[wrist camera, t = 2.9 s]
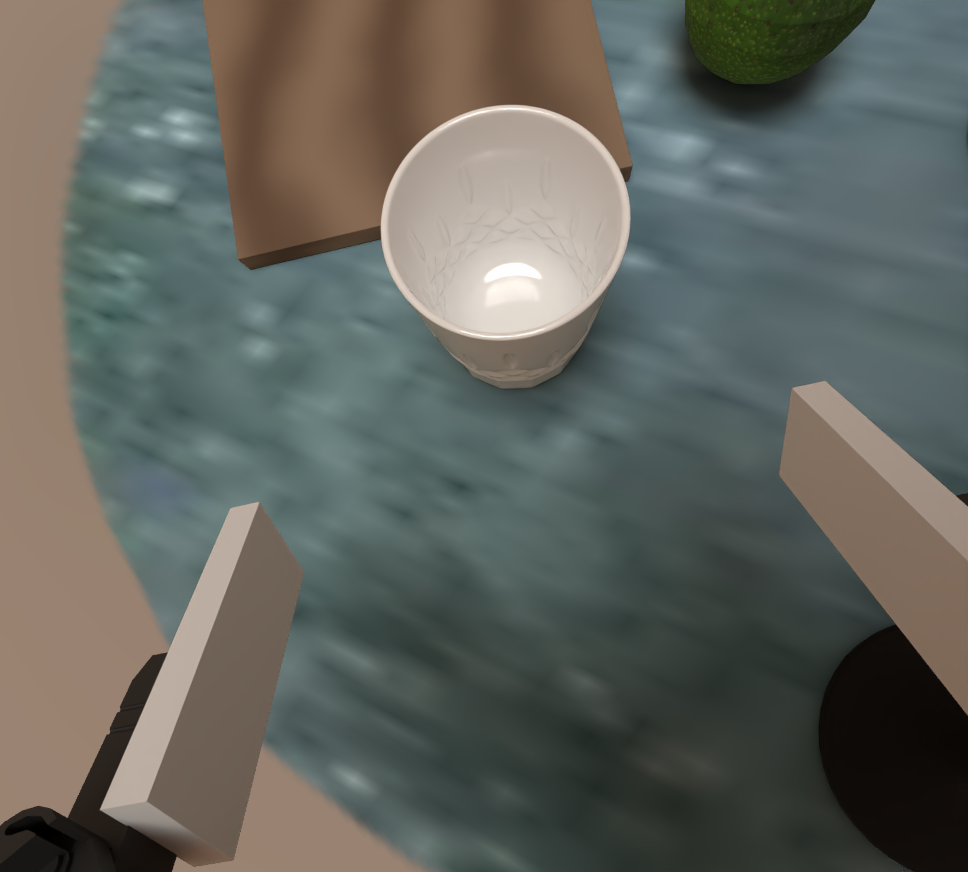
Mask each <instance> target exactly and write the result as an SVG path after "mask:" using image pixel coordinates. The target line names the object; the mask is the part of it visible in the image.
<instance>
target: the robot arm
mask: <svg viewBox="0 0 968 872" xmlns="http://www.w3.org/2000/svg"><path fill="white" fill-rule="evenodd" d="M779 476H780V477H781V478H782V480H783V481H784V482H785V483H786V485H787V486H788V487H789V489H790V490H791V491H792V492H793V494H794V495H795V496H796V497H797V499H798V500H799V501H800V503H801V504H802V505H803V506H804V508H805V509H806V510H807V511H808V513H809V514H810V515H811V517H812V518H813V519H814V520H815V522H816V523H817V524H818V525H819V527H820V528H821V529H822V531H823V532H824V533H825V534H826V536H827V537H828V538H829V539H830V541H831V542H832V543H833V545H834V546H835V547H836V548H837V550H838V551H839V552H840V553H841V555H842V556H843V557H844V559H845V560H846V561H847V562H848V564H849V565H850V566H851V567H852V569H853V570H854V571H855V573H856V574H857V575H858V576H859V578H860V579H861V580H862V581H863V583H864V584H865V585H866V587H867V588H868V589H869V590H870V592H871V593H872V594H873V595H874V597H875V598H876V599H877V601H878V602H879V603H880V604H881V606H882V607H883V608H884V609H885V611H886V612H887V613H888V615H889V616H890V617H891V618H892V620H893V621H894V622H895V623H896V625H897V626H898V627H899V629H900V630H901V631H902V632H903V634H904V635H905V636H906V637H907V639H908V640H909V641H910V643H911V644H912V645H913V646H914V648H915V649H916V650H917V651H918V653H919V654H920V655H921V657H922V658H923V659H924V660H925V662H926V663H927V664H928V665H929V667H930V668H931V669H932V671H933V672H934V673H935V674H936V676H937V677H938V678H939V679H940V681H941V682H942V683H943V685H944V686H945V687H946V688H947V690H948V691H949V692H950V693H951V695H952V696H953V697H954V699H955V700H956V701H957V702H958V704H959V705H960V706H961V707H962V709H963V710H964V711H965V713H966V714H967V715H968V493H967V494H962V495H957V496H955V495H954V494H953V493H952V492H951V491H950V490H948V489H947V488H946V487H945V486H944V485H943V484H942V483H940V482H939V481H938V480H937V479H936V478H935V477H934V476H933V475H931V474H930V473H929V472H928V471H927V470H926V469H925V468H923V467H922V466H921V465H920V464H919V463H918V462H917V461H915V460H914V459H913V458H912V457H911V456H910V455H909V454H908V453H906V452H905V451H904V450H903V449H902V448H901V447H900V446H898V445H897V444H896V443H895V442H894V441H893V440H892V439H891V438H889V437H888V436H887V435H886V434H885V433H884V432H883V431H881V430H880V429H879V428H878V427H877V426H876V425H875V424H873V423H872V422H871V421H870V420H869V419H868V418H867V417H866V416H864V415H863V414H862V413H861V412H860V411H859V410H858V409H856V408H855V407H854V406H853V405H852V404H851V403H850V402H848V401H847V400H846V399H845V398H844V397H843V396H842V395H841V394H839V393H838V392H837V391H836V390H835V389H834V388H833V387H831V386H830V385H829V384H828V383H827V382H826V381H822V382H818V383H813V384H808V385H804V386H799V387H794V388H792V390H791V397H790V404H789V411H788V417H787V424H786V431H785V438H784V445H783V451H782V458H781V465H780V472H779ZM303 574H304V571H303V570H302V568H301V566H300V565H299V563H298V562H297V560H296V558H295V557H294V555H293V554H292V552H291V551H290V549H289V547H288V546H287V544H286V543H285V541H284V540H283V538H282V536H281V535H280V533H279V532H278V530H277V529H276V527H275V525H274V524H273V522H272V521H271V519H270V518H269V516H268V514H267V513H266V511H265V510H264V508H263V506H262V505H261V503H260V502H257V503H252V504H248V505H243V506H238V507H234V508H230V511H229V513H228V515H227V518H226V520H225V522H224V525H223V527H222V529H221V532H220V534H219V536H218V538H217V541H216V543H215V545H214V548H213V550H212V552H211V555H210V557H209V559H208V562H207V564H206V566H205V568H204V571H203V573H202V575H201V578H200V580H199V582H198V585H197V587H196V589H195V591H194V594H193V596H192V598H191V601H190V603H189V605H188V608H187V610H186V612H185V615H184V617H183V619H182V621H181V624H180V626H179V628H178V631H177V633H176V635H175V638H174V640H173V642H172V644H171V647H170V649H169V651H168V652H167V653H163V654H157V655H153V656H152V657H151V658H150V659H149V660H148V662H147V663H146V664H145V665H144V667H143V668H142V669H141V670H140V672H139V673H138V674H137V675H136V677H135V678H134V679H133V680H132V682H131V684H130V686H129V689H128V691H127V693H126V695H125V697H124V699H123V701H122V704H121V706H120V709H121V710H120V712H118V713H117V714H116V716H115V718H114V720H113V723H112V725H111V727H110V734H108V735H106V737H105V740H104V742H103V744H102V746H101V748H100V750H99V752H98V755H97V757H96V759H95V761H94V763H93V765H92V767H91V769H90V772H89V774H88V776H87V778H86V780H85V782H84V784H83V786H82V789H81V791H80V793H79V795H78V797H77V799H76V801H75V803H74V806H73V808H72V810H71V812H70V814H69V816H68V818H66V817H65V816H62V815H61V814H59V813H57V812H56V811H54V810H52V809H50V808H46V807H41V806H36V807H33V808H30V809H26V810H23V811H21V812H19V813H18V814H16V815H15V816H13V817H11V818H10V819H9V820H7V821H5V822H4V823H3V824H2V825H1V826H0V872H172V870H173V866H174V863H175V860H176V857H179V858H180V859H182V860H183V861H185V862H187V863H188V864H190V865H192V866H193V867H196V866H202V865H208V864H214V863H220V862H226V861H232V860H234V856H235V852H236V848H237V844H238V840H239V836H240V832H241V828H242V823H243V819H244V815H245V811H246V807H247V803H248V799H249V795H250V791H251V787H252V783H253V779H254V774H255V771H256V766H257V762H258V758H259V754H260V750H261V746H262V742H263V738H264V734H265V730H266V726H267V721H268V717H269V713H270V709H271V705H272V701H273V697H274V693H275V689H276V685H277V681H278V677H279V672H280V668H281V664H282V660H283V656H284V652H285V648H286V644H287V640H288V636H289V632H290V627H291V623H292V619H293V615H294V611H295V607H296V603H297V599H298V595H299V591H300V587H301V582H302V578H303Z"/></svg>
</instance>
